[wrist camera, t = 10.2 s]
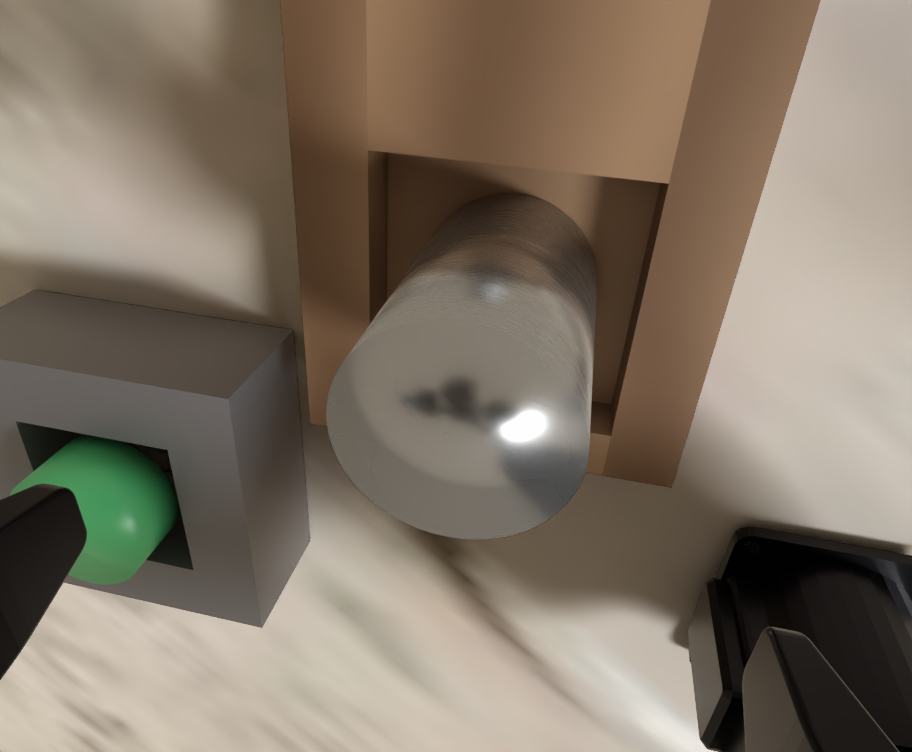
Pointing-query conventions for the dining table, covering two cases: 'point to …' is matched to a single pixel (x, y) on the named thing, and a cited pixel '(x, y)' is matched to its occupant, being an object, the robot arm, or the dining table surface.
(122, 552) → the button
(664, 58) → the brown wooden pocket tray
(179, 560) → the button housing
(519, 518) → the billet loose
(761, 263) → the dining table surface
